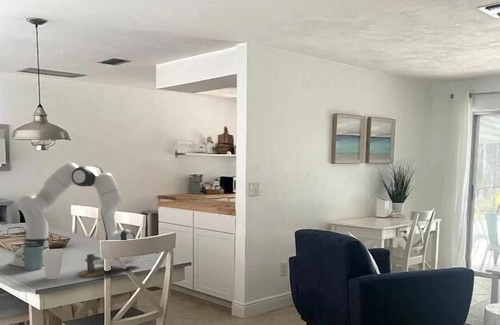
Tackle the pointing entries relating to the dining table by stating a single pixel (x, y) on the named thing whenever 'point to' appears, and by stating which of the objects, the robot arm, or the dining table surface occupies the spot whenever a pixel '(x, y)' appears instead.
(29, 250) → the teal canister
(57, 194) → the robot arm
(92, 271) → the cover
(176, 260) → the dining table surface
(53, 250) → the foam cup
